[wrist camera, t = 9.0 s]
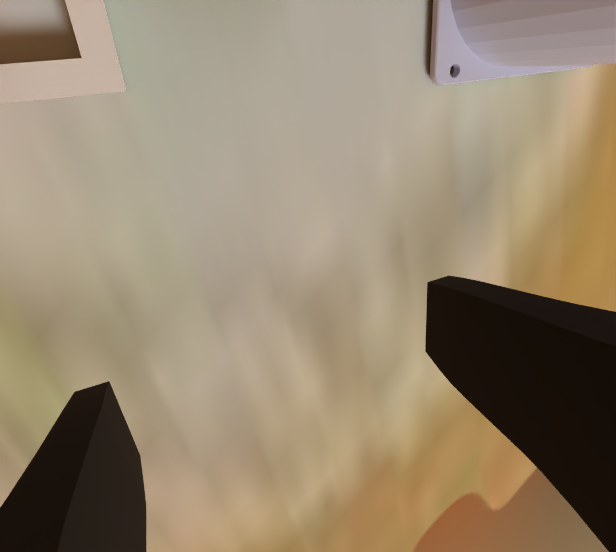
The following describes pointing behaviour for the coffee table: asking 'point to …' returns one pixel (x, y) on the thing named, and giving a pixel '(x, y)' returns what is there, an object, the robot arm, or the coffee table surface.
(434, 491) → the coffee table surface
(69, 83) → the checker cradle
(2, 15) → the coffee table surface
